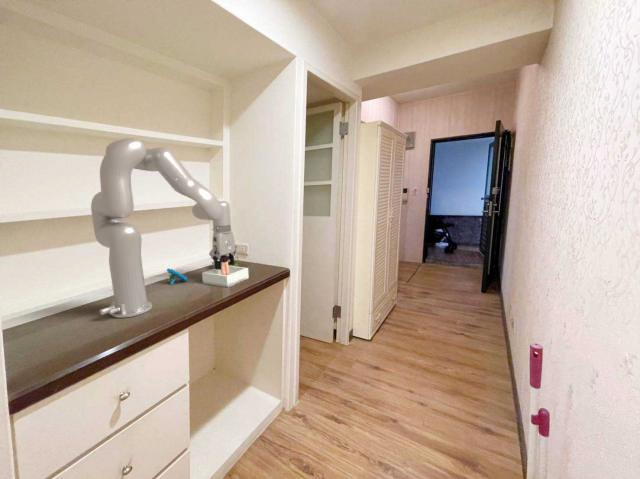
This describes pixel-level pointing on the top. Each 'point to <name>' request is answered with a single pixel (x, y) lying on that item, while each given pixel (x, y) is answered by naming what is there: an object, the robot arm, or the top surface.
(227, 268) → the grandmother figurine
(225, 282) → the bin
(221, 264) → the passion flower
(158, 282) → the top surface
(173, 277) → the blue dinosaur toy
